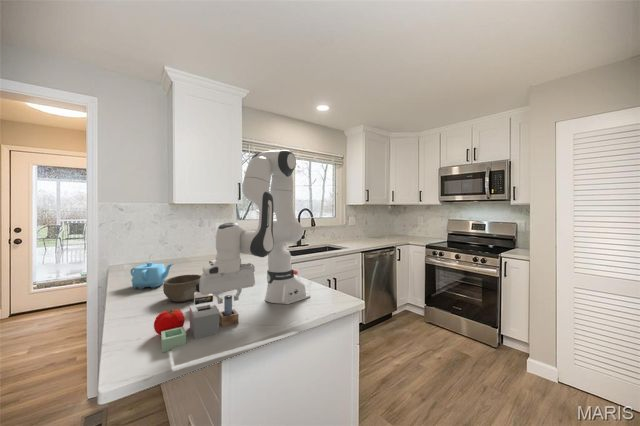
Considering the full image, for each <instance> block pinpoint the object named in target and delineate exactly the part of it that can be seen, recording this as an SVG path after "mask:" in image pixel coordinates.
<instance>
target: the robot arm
mask: <svg viewBox="0 0 640 426" xmlns="http://www.w3.org/2000/svg"><path fill="white" fill-rule="evenodd" d="M296 161H297V160H296V156H295V154H294V153H293V152H292V151H291V150H289V149H282V150H280V149H277V150H276V149H275V150H268V151H263V152H257V153H254V155H252V157H251V159H250V160H249V162H248V165H247V167H246V170H245V174H244V177H243V181H242V194H243V196H244V197H245V198H246V199H247V201H250V202H251V203H253V204H255V205H256V206H257V207H258V210H259V211H258V215H259V216H258V226H257V230H249V229H245V228H243V227H241V226H240V225H239V224H238V223H237V222H228V223H227V222H226V223H223V224H219V226H218V227H217V229H216V232H215V233H216V234H215V249H216V254H215V255H216V256H215V260H216V261H215V262H212V263H210V264H209V263H208V264H206V265H203V266H202V273H201V274H200V275H201V277H200V283H199V291H200V293H201V294H202V295H206V294H213V295H214V296H215V297H216V300H217V304H218V305H221V304H224V303H223V302H224V301H223V300H224V298H222V297H220V293H223V292H228V291H235V290H236V293H235V295H233V301H234V302H235V301H239V300H240V299H239V297H240V295H241V293H242V289H246V288H253V287H254V286H255V285H256V280H255V279H256V278H255V271H256V270H255V269H256V268H255V265H254V264H252V263H251V262H250V263H241V264H240V258H241V254H244V255H249V256H255V257H258V258H265V257H267V271H266V272H267V273H266V279H267V280H266V282H267V285H266V292H265V296H264V301H266V302H267V303H272V304H284V305H290V304H292V303H296V302H298V301H303V300H304V299H305V300H306V299H308V298H310V297H311V294H310V292H308V291H307V290H306V285H305V284H304V282H303V281H301V280H300V279H299V278H297V277H296V276H297V275H298V274H299V271H298V270H294V269H292V256H291V255H292V254H291V252H290V251H289V250H288V249H287V248H286V246H285V244H286V243H287V244H290V243H297V242H298V241H299V242H300V240H301V238H302V237H303V233H304V229H303V226H302V224H301V223H300V222H299V221H298V219H297V218H296V215H295V212H294V205H293V204H294V203H293V200H294V180H293V173H294V171H295V169H296V165H297V164H296V163H297V162H296ZM274 214H275V218H274Z"/></svg>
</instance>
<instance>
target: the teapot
mask: <svg viewBox="0 0 640 426" xmlns="http://www.w3.org/2000/svg"><path fill="white" fill-rule="evenodd" d="M173 265H174V263H169V264H167V266H165V263H154V262H153V261H149V262H146V263H145V264H139V265H138V266H134V267H132V268H131V269H130V271H129V272H130V275H131V276H132V278H131V284H132V288H138V290H143V289H145V288H150V287H151V289H157V288H158V287H159V286H161V285H163V284H164V282H165V281H166V280H167V279H166V278H167V277H168V275H169V273H170V270H171V267H172V266H173Z"/></svg>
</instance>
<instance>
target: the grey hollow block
mask: <svg viewBox="0 0 640 426" xmlns="http://www.w3.org/2000/svg"><path fill="white" fill-rule="evenodd" d="M219 312H220V310H219V308H218V307H217V305H216V304H215V302H214V301H213V302H208V303H203V304H197V305H194V304H193V305H189V330H190V332H191V335H192V336H193V339H194V340H196V339H197V340H198V339H200V338H204V337H208V336H213V335H217V334H220V323H219Z"/></svg>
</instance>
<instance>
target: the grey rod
mask: <svg viewBox="0 0 640 426" xmlns="http://www.w3.org/2000/svg"><path fill="white" fill-rule="evenodd" d="M223 297H224V298H223V300H224V301H223V302H224V303H223V304H224V305H223V306H224V307H223V309H224V310H223V311H224V316H227V315H232V309H233V295H231V294H227V295H224V296H223Z"/></svg>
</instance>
